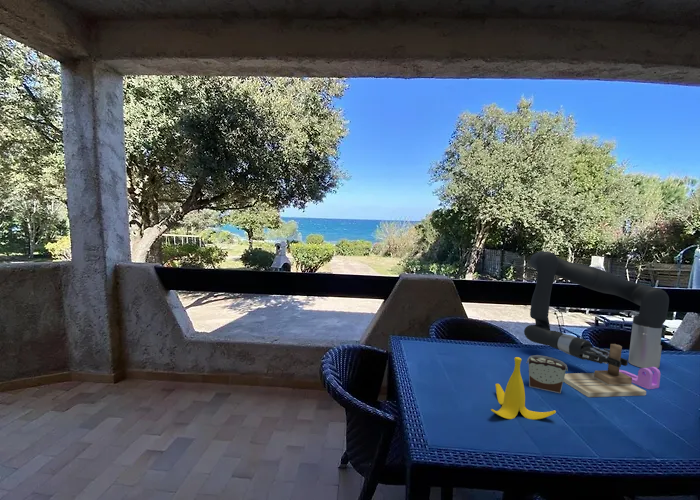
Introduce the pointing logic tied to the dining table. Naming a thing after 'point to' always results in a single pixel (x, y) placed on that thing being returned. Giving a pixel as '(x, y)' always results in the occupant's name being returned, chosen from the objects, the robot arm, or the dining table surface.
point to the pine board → (599, 386)
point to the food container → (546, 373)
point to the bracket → (645, 377)
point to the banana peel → (516, 398)
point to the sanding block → (613, 370)
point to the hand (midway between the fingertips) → (623, 363)
